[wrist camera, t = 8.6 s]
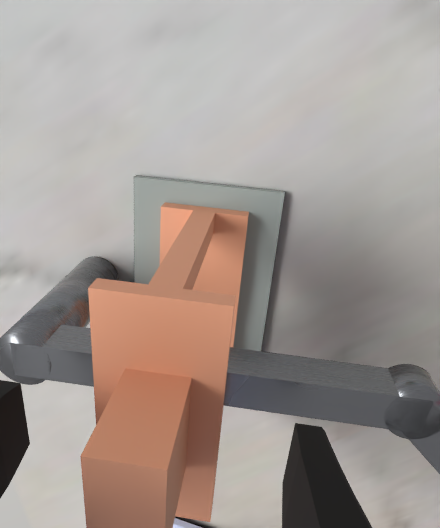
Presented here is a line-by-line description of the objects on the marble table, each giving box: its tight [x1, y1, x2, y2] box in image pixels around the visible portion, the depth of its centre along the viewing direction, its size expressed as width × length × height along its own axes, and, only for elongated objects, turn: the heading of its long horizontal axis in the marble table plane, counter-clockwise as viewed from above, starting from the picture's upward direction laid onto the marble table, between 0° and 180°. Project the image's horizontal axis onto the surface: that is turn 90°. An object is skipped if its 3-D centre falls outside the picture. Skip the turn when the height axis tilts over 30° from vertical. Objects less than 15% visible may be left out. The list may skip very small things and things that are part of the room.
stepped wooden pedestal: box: [81, 202, 249, 528], centre depth 12 cm, size 3×7×10 cm, turn 176°
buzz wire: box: [0, 257, 440, 474], centre depth 15 cm, size 8×24×6 cm, turn 70°
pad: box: [134, 175, 285, 351], centre depth 17 cm, size 6×9×1 cm, turn 176°
